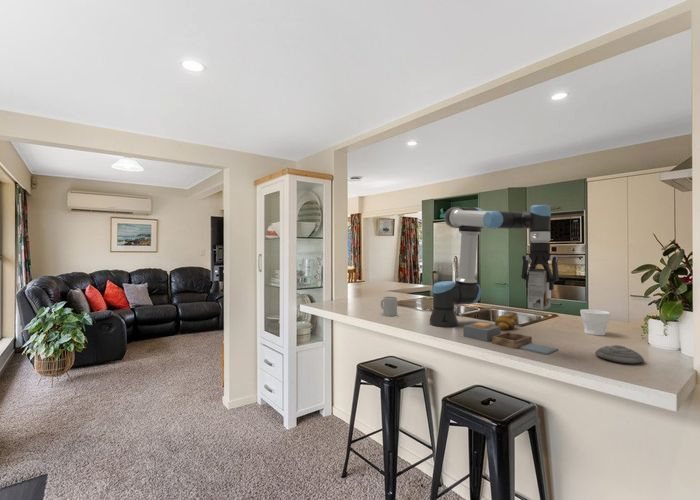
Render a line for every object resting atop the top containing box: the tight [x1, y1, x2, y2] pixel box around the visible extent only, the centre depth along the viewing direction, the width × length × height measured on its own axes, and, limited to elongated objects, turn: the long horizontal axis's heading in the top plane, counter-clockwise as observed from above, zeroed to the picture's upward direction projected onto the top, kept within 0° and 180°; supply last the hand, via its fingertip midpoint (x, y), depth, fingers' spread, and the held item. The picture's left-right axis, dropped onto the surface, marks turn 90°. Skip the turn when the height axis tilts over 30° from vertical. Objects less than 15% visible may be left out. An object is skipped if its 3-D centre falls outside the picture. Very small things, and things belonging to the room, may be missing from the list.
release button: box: [472, 321, 492, 328], centre depth 170 cm, size 6×6×5 cm
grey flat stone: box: [594, 344, 645, 364], centre depth 138 cm, size 15×15×6 cm
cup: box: [579, 308, 611, 336], centre depth 178 cm, size 12×12×11 cm
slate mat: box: [518, 342, 559, 356], centre depth 150 cm, size 11×11×1 cm
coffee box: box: [527, 268, 552, 311], centre depth 150 cm, size 9×6×16 cm
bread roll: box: [494, 312, 518, 331], centre depth 188 cm, size 13×10×8 cm
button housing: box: [463, 323, 502, 342], centre depth 170 cm, size 12×12×5 cm
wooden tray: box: [491, 331, 533, 350], centre depth 159 cm, size 11×14×3 cm
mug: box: [380, 296, 398, 317], centre depth 224 cm, size 12×8×11 cm
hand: (539, 296), depth 150 cm, fingers closed on coffee box, 7 cm apart
